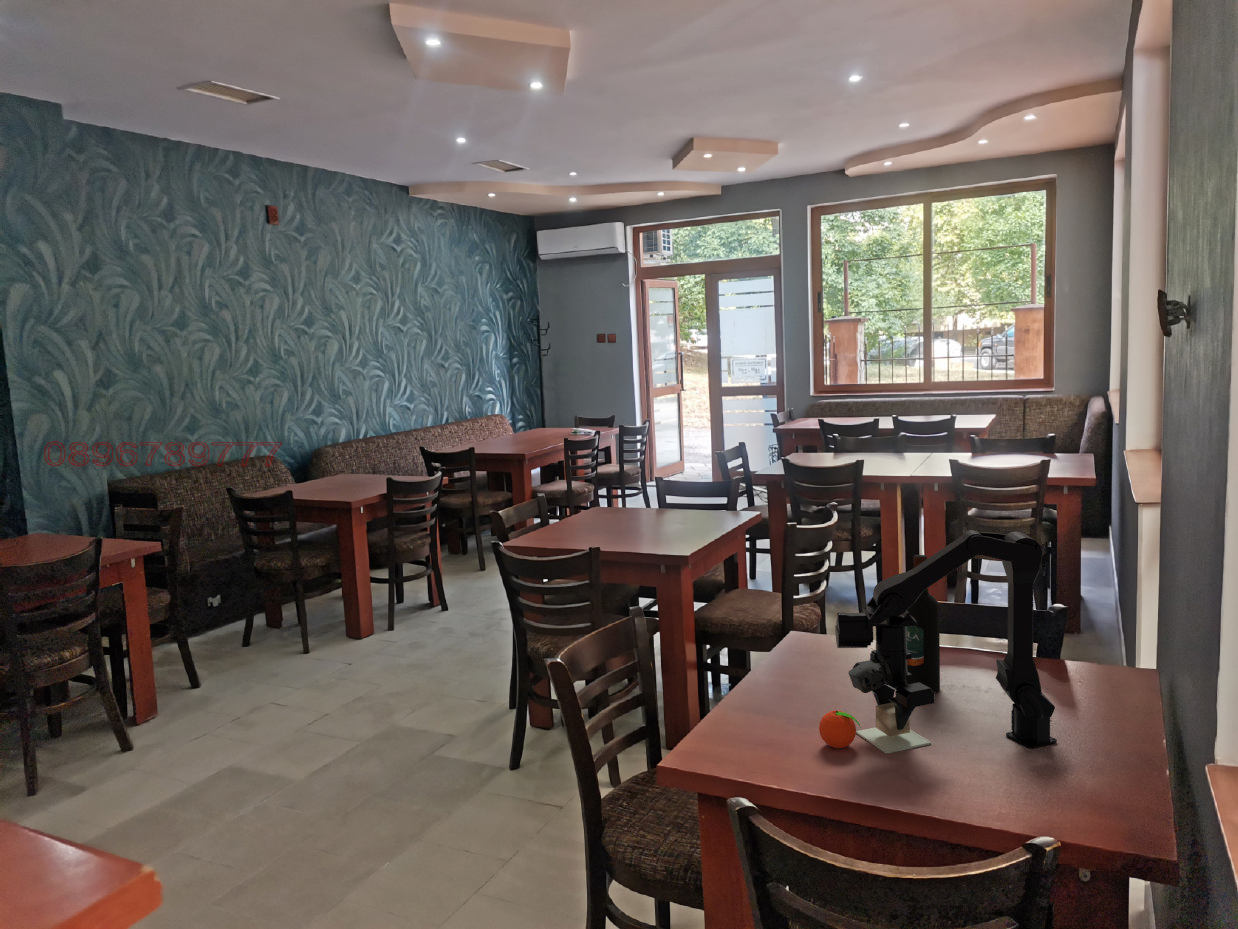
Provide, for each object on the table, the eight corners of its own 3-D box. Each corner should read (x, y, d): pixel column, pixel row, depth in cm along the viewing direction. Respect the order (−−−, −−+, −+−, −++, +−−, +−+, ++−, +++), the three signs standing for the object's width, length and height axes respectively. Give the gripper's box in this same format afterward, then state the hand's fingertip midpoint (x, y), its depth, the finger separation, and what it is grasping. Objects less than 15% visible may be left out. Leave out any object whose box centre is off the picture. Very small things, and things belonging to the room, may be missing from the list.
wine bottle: (942, 695, 190) (941, 560, 187) (906, 694, 192) (904, 560, 188) (937, 682, 198) (936, 552, 194) (902, 681, 199) (900, 552, 196)
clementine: (866, 743, 169) (865, 708, 168) (856, 758, 163) (855, 721, 162) (825, 736, 173) (824, 701, 172) (814, 750, 167) (813, 715, 166)
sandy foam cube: (909, 732, 169) (909, 710, 168) (889, 736, 167) (889, 714, 167) (895, 723, 173) (895, 701, 172) (876, 727, 172) (875, 705, 171)
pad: (931, 744, 167) (931, 742, 167) (886, 753, 164) (886, 751, 164) (899, 724, 177) (899, 722, 176) (856, 733, 174) (855, 731, 173)
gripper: (828, 639, 175) (830, 714, 176) (884, 669, 157) (885, 752, 159) (876, 631, 178) (878, 705, 180) (936, 659, 160) (937, 741, 162)
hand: (892, 725), depth 170 cm, fingers closed on sandy foam cube, 4 cm apart
